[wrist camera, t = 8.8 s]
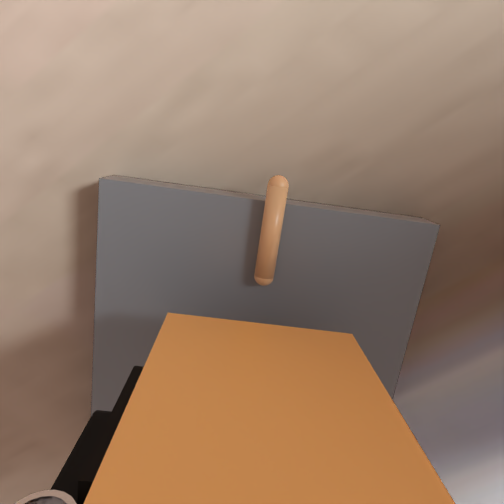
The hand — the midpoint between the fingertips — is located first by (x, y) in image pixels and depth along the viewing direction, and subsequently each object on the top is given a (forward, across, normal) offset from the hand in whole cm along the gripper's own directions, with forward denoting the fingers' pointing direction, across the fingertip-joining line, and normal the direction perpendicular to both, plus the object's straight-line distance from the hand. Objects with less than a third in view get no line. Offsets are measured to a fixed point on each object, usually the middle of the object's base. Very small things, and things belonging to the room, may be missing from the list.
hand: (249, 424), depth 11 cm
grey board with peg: (+5, 0, 0) cm, 5 cm away
